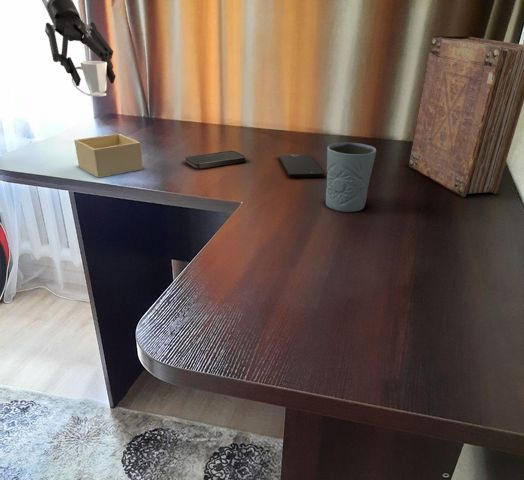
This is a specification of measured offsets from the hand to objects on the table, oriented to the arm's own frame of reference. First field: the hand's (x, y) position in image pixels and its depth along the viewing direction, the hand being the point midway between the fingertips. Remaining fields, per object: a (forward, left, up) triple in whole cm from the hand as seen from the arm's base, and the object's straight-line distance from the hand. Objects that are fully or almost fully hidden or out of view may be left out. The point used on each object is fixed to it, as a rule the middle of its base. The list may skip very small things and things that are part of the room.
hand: (96, 81), depth 138 cm
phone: (+16, -33, -17) cm, 40 cm away
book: (+55, -79, -17) cm, 98 cm away
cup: (0, +3, -4) cm, 5 cm away
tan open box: (-9, -22, -17) cm, 29 cm away
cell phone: (+31, -50, -17) cm, 61 cm away
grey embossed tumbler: (+20, -76, -17) cm, 80 cm away
